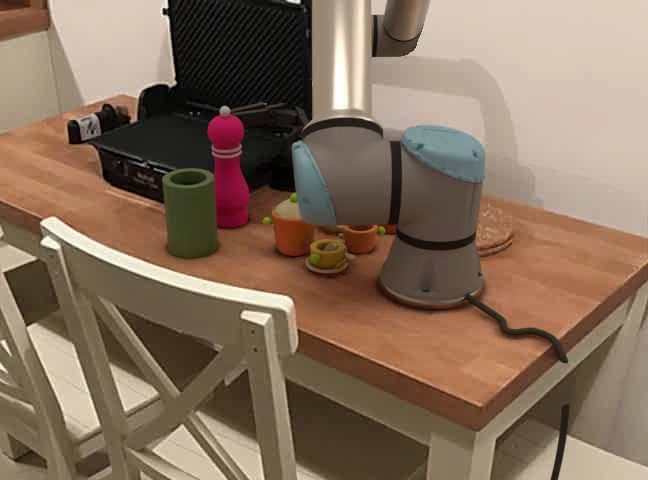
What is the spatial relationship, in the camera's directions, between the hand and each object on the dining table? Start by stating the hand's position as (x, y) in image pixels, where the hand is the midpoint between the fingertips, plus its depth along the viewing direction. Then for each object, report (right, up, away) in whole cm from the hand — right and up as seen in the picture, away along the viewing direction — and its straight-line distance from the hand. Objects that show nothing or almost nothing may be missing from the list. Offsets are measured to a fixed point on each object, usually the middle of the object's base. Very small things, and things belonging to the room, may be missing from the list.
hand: (249, 139), depth 158 cm
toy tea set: (+15, -19, -6) cm, 25 cm away
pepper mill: (-3, -14, +2) cm, 14 cm away
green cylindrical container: (-9, -19, -6) cm, 22 cm away
